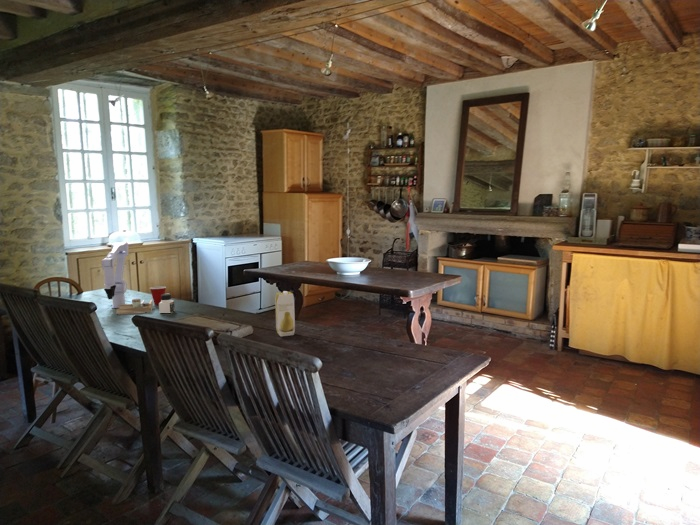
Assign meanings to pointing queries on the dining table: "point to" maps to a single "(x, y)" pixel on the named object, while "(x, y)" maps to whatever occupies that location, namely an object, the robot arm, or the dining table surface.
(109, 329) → the dining table surface
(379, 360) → the dining table surface
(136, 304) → the jar
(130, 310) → the wooden crate
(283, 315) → the juice carton
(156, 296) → the plastic cup
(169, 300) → the medicine bottle
